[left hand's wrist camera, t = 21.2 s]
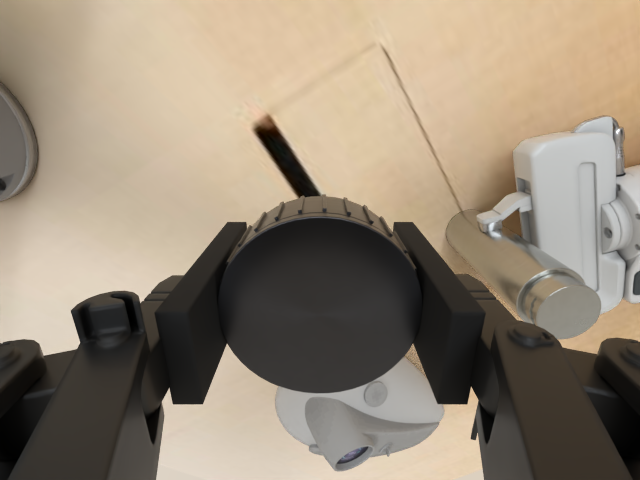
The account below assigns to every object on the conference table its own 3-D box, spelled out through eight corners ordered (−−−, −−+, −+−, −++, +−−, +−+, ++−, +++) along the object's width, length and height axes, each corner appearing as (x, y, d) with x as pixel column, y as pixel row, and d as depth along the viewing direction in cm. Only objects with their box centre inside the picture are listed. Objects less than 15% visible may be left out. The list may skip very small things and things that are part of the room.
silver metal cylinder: (439, 245, 42) (519, 336, 25) (455, 204, 40) (552, 273, 24) (479, 254, 43) (583, 349, 26) (497, 214, 41) (621, 289, 24)
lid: (442, 283, 12) (467, 320, 10) (315, 376, 14) (314, 424, 12) (325, 153, 10) (327, 164, 8) (196, 274, 12) (170, 309, 10)
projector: (301, 442, 54) (295, 555, 40) (260, 324, 46) (236, 415, 32) (441, 419, 52) (484, 529, 39) (424, 292, 44) (471, 373, 31)
